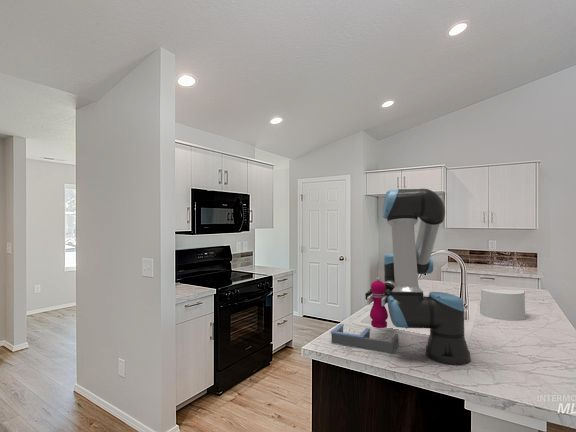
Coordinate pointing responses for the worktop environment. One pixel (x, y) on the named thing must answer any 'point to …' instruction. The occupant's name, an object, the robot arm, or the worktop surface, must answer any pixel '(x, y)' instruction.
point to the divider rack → (363, 340)
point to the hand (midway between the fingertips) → (375, 301)
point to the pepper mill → (378, 305)
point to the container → (503, 304)
